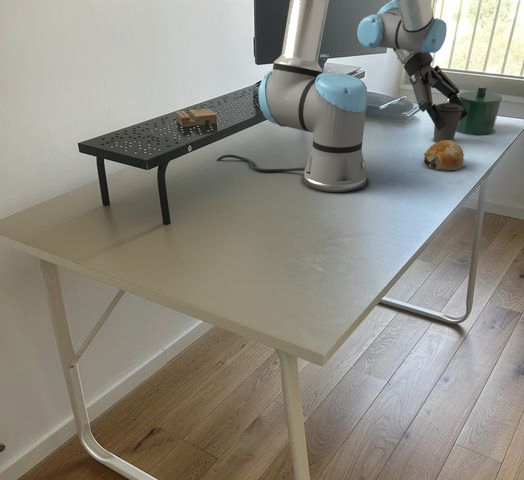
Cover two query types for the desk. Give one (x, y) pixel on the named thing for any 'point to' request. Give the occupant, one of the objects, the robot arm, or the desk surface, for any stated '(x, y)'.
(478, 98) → the pot lid
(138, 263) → the desk surface
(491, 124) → the pot
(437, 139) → the coffee cup
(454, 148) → the bread roll
